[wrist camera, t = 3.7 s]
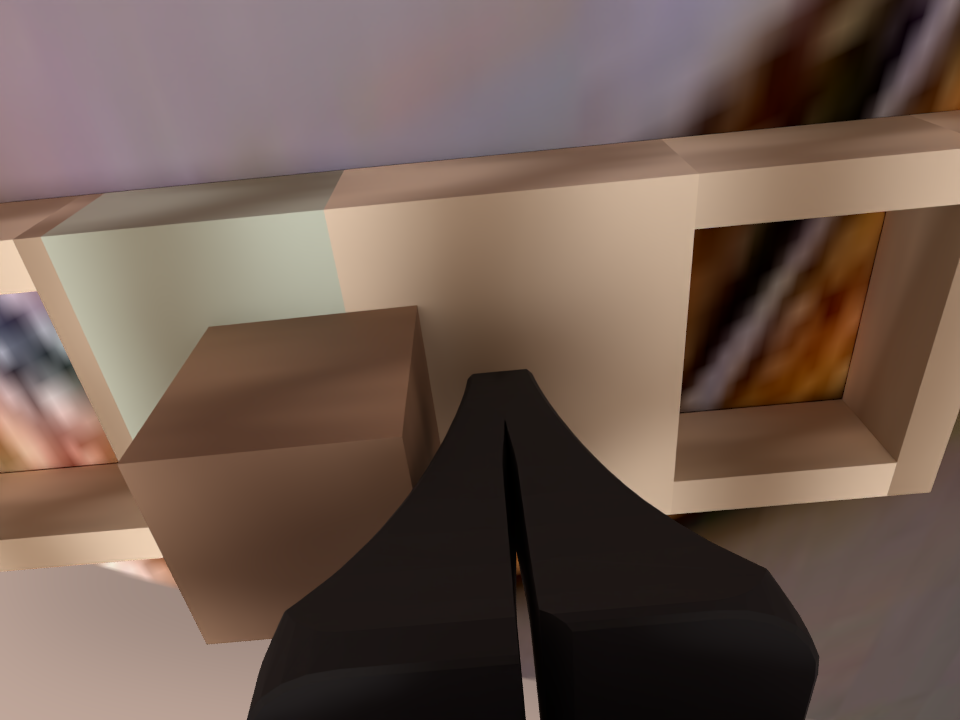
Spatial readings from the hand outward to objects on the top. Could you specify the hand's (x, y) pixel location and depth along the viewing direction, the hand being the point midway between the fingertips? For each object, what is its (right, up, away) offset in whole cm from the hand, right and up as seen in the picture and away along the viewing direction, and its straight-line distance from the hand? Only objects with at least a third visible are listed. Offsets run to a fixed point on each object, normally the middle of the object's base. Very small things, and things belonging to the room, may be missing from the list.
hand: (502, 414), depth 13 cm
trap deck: (-2, +2, +3) cm, 4 cm away
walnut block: (-3, 0, +1) cm, 4 cm away
